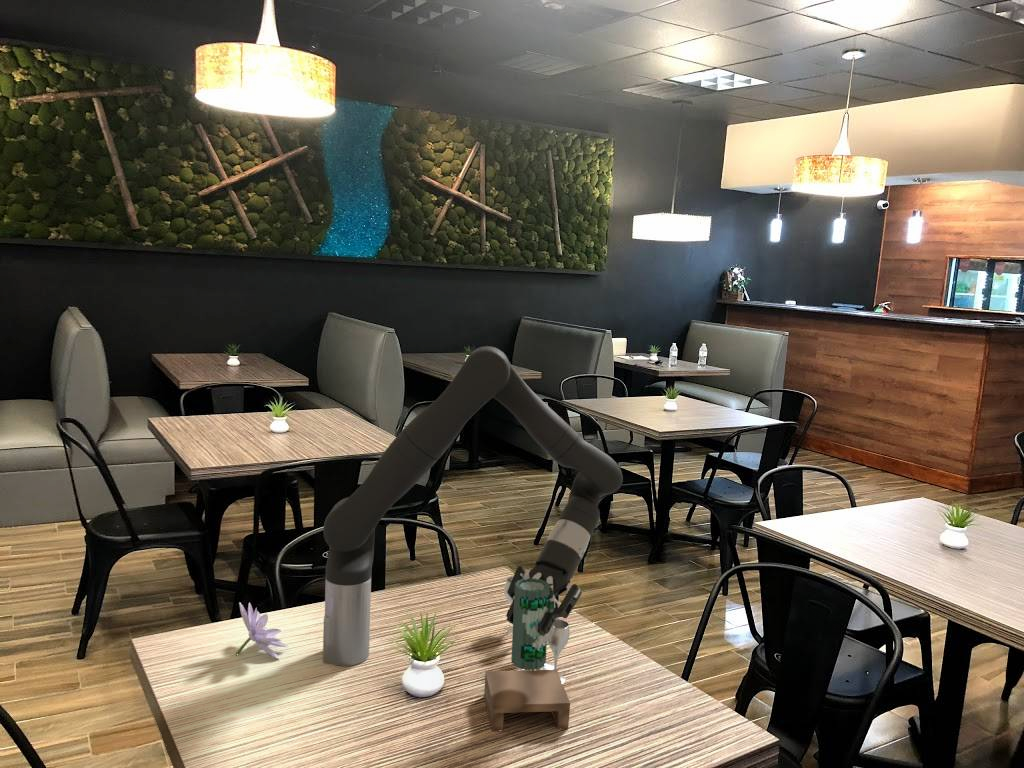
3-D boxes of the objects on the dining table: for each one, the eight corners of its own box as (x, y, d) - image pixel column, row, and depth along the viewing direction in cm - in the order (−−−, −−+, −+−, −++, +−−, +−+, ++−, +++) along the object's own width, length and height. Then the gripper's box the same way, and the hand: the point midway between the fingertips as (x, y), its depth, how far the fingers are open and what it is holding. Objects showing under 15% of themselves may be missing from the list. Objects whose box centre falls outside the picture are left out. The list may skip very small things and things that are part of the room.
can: (529, 673, 144) (534, 594, 142) (505, 661, 148) (508, 584, 146) (551, 662, 149) (555, 585, 147) (527, 650, 153) (530, 575, 151)
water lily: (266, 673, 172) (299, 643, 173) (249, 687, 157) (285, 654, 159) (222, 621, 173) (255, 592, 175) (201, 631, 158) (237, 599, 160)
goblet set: (572, 683, 161) (576, 621, 159) (546, 687, 159) (550, 624, 157) (521, 623, 187) (524, 569, 185) (497, 626, 185) (500, 571, 183)
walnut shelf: (491, 731, 143) (493, 705, 142) (484, 695, 155) (485, 671, 154) (568, 728, 145) (570, 702, 144) (555, 693, 157) (556, 669, 156)
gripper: (526, 530, 156) (485, 607, 148) (590, 548, 147) (550, 631, 139) (540, 549, 161) (501, 624, 153) (602, 568, 152) (565, 649, 144)
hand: (525, 627), depth 146 cm, fingers closed on can, 6 cm apart
